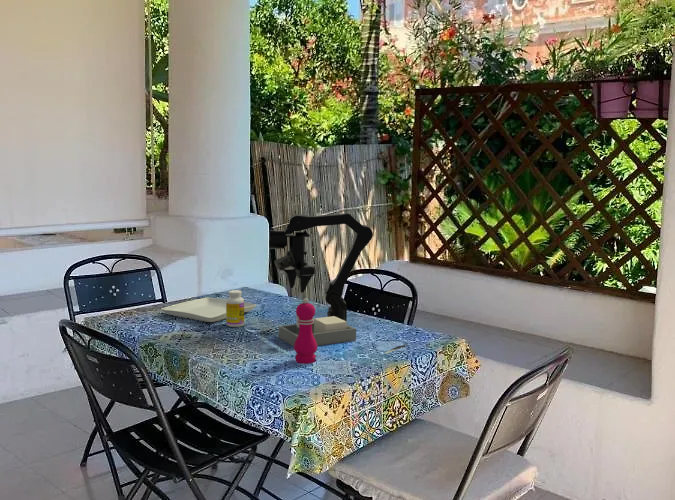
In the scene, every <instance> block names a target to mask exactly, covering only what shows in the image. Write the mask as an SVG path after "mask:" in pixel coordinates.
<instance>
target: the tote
mask: <svg viewBox="0 0 675 500" xmlns="http://www.w3.org/2000/svg"><path fill="white" fill-rule="evenodd" d="M312 333H313V336H314V338H315V340H316V343H317V347H319V346H325V345H327V346H328V345H333V344H339V343H347V342H355V341H357V328H355V327H354V326H351V325H349V324H347V329H345V330H337V331H330V332H322V333H315V334H314V323H313V324H312ZM297 336H298V335H297V334H296V323H294V324H286V325H278V338H279V339H280V340H282V341H284V342H285V343H287V344H289V345H290V346H292V347H294V344H295V341H296V339H297Z"/></svg>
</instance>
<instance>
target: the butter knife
mask: <svg viewBox="0 0 675 500" xmlns="http://www.w3.org/2000/svg"><path fill="white" fill-rule="evenodd" d="M406 345H407V344H405V345H404V344H403V345H398V346H396V347H393V348H391V349H389V350H388V351H385V352H384V354H389V353H391V352H394V351H397V350H400V349H403V348H405V346H406ZM401 347H402V348H401ZM406 347H407V346H406Z"/></svg>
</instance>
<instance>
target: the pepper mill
mask: <svg viewBox="0 0 675 500" xmlns="http://www.w3.org/2000/svg"><path fill="white" fill-rule="evenodd" d="M315 314H316V307H315V306H314V305H313V304H312V303H309V299H308V298H306V297H304V298H303V299H302V303H300V304H298V305H297V307H296V309H295V315H296V316H298V317H299V318H298V324H299V334H298V336H297V339H296V341H295V344H294V346H293V350H294V351H295V352H296V354H295V362H296V363H298V364H305V365H306V364H307V365H308V364H312V363H315V362H316V358H317V357H316V354H315V353H316V351H317V350H318V346H317V343H316V340H315V338H314V336H313V333H312V324H313V323H314V319H315V318H314V316H315Z"/></svg>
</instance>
